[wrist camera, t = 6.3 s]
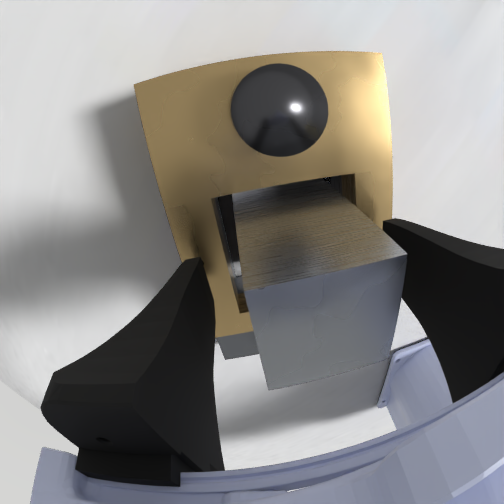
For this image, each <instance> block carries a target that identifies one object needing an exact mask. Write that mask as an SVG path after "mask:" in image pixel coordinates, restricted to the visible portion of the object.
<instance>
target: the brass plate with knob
mask: <svg viewBox="0 0 504 504" xmlns="http://www.w3.org/2000/svg"><path fill="white" fill-rule="evenodd" d="M134 89H135V94H136V98H137V103H138V108H139V112H140V116H141V121H142V125H143V129H144V133H145V138H146V142H147V146H148V150H149V153H150V157H151V161H152V165H153V169H154V172H155V176H156V180H157V183H158V187H159V190H160V194H161V197H162V201H163V204H164V208H165V211H166V214H167V218H168V221H169V224H170V227H171V231H172V234H173V237H174V240H175V243H176V246H177V249H178V252H179V255H180V258H181V261H182V263H183V262H184V260H186V259H191V258H196V257H201V259H202V262H203V265H204V269H205V272H206V275H207V279H208V282H209V285H210V288H211V292H212V295H213V298H214V305H215V318H216V328H215V338H217V340H218V342H219V345H220V348H221V350H222V353H223V356H224V358H225V360H227V359H233V358H239V357H245V356H250V355H256V354H259V350H258V347H257V343H256V339H255V335H254V330H253V326H252V322H251V318H250V314H249V310H248V306H247V302H246V298H245V294H244V288H243V280H242V276H240V277H236V274H235V270H234V266H233V262H232V258H231V254H230V250H229V245H228V241H227V237H226V233H225V228H224V224H223V220H222V215H221V211H220V207H219V202H218V198H217V197H219V196H224V195H229V194H234V193H239V192H244V191H249V190H254V189H260V188H265V187H271V186H276V185H282V184H288V183H293V182H299V181H306V180H312V179H318V178H325V177H330V180H331V186H332V187H333V188H334V189H336V190H337V191H338V192H339V193H340V194H342V195H343V196H344V197H345V198H346V199H348V200H349V201H350V202H351V203H352V204H353V205H355V206H356V207H357V208H358V209H359V210H360V211H362V212H363V213H364V214H365V215H366V216H367V217H368V218H370V219H371V220H372V221H373V222H374V223H375V224H376V225H377V226H378V227H380V228H381V229H383V221H384V220H389V219H392V195H393V170H392V140H391V124H390V112H389V102H388V93H387V84H386V77H385V70H384V63H383V57H382V53H373V52H352V51H317V52H296V53H282V54H272V55H263V56H255V57H247V58H241V59H234V60H228V61H223V62H217V63H212V64H207V65H203V66H198V67H194V68H190V69H185V70H181V71H177V72H174V73H170V74H166V75H163V76H159V77H156V78H153V79H149V80H146V81H143V82H140V83H137V84H134Z"/></svg>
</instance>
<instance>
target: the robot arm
mask: <svg viewBox="0 0 504 504" xmlns="http://www.w3.org/2000/svg"><path fill="white" fill-rule="evenodd" d="M382 230H383V231H384V232H385V233H386V234H387V235H388V236H389V237H390V238H391V239H392V240H394V241H395V242H396V243H397V244H398V245H399V246H400V247H401V248H402V249H403V250H404V251H405V252H406V253H407V254H408V255H407V264H406V271H405V278H404V285H403V291H402V299H403V300H404V301H405V303H406V304H407V305H408V307H409V308H410V310H411V311H412V312H413V314H414V315H415V316H416V318H417V319H418V321H419V322H420V324H421V325H422V327H423V329H424V331H425V333H426V335H427V337H428V338H429V339H427V340H425V341H422V342H420V343H417V344H414V345H412V346H409V347H407V348H404V349H401V350H398V351H396V352H395V353H394V354H393V356H392V359H391V363H390V366H389V369H388V373H387V376H386V379H385V383H384V386H383V389H382V392H381V395H380V398H379V401H378V403H377V407H378V408H382V407H385V406H387V408H388V410H389V413H390V415H391V417H392V420H393V422H394V424H395V427H396V429H397V430H396V431H393V432H391V433H388V434H385V435H383V436H380V437H377V438H375V439H372V440H369V441H366V442H363V443H360V444H357V445H354V446H351V447H347V448H344V449H341V450H337V451H334V452H330V453H326V454H322V455H318V456H314V457H310V458H306V459H301V460H296V461H291V462H286V463H281V464H275V465H269V466H262V467H255V468H247V469H238V470H227V471H225V469H224V463H223V457H222V452H221V445H220V438H219V431H218V424H217V415H216V405H215V394H214V381H213V367H214V347H215V328H216V318H215V305H214V298H213V295H212V292H211V288H210V285H209V282H208V279H207V275H206V272H205V269H204V265H203V262H202V259H201V257H196V258H191V259H186V260H184V262H183V263H182V264H181V265H180V266H179V268H178V269H177V270H176V271H175V273H174V274H173V275H172V277H171V278H170V279H169V280H168V282H167V283H166V284H165V285H164V287H163V288H162V289H161V290H160V291H159V293H158V294H157V295H156V296H155V297H154V298H153V299H152V301H151V302H150V303H149V304H148V305H147V306H146V307H145V308H144V309H143V310H142V311H141V312H140V313H139V314H138V315H137V316H136V317H135V318H134V319H133V320H132V321H131V322H130V323H129V324H127V325H126V326H125V327H124V328H123V329H121V330H120V331H119V332H118V333H116V334H115V335H114V336H113V337H111V338H110V339H109V340H108V341H106V342H105V343H103V344H102V345H101V346H99V347H98V348H96V349H95V350H93V351H92V352H90V353H88V354H87V355H85V356H84V357H82V358H80V359H79V360H77V361H75V362H73V363H71V364H69V365H67V366H65V367H63V368H62V369H60V370H58V371H56V372H54V373H53V375H52V378H51V380H50V383H49V386H48V388H47V391H46V393H45V396H44V399H43V402H42V405H41V411H42V414H43V416H44V417H45V419H46V420H47V422H48V423H49V424H50V425H51V426H53V427H54V428H55V429H56V430H57V431H58V432H59V433H61V434H62V435H63V436H64V437H66V438H67V439H68V440H69V441H71V442H72V443H74V444H75V445H76V446H77V447H79V452H78V457H77V456H76V455H73V454H71V453H68V452H64V451H59V450H55V449H51V448H46V447H43V448H42V450H41V454H40V458H39V462H38V466H37V470H36V475H35V480H34V485H33V490H32V496H31V501H30V504H504V249H500V248H495V247H489V246H485V245H481V244H477V243H473V242H469V241H465V240H462V239H459V238H456V237H453V236H450V235H447V234H444V233H441V232H438V231H435V230H432V229H430V228H427V227H424V226H421V225H418V224H415V223H412V222H409V221H406V220H402V219H396V218H394V219H389V220H384V221H383V229H382ZM304 487H306V488H304ZM299 488H302V489H299ZM294 489H298V490H295V491H291V492H287V491H289V490H294Z"/></svg>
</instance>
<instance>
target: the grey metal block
mask: <svg viewBox="0 0 504 504" xmlns="http://www.w3.org/2000/svg"><path fill="white" fill-rule="evenodd" d="M232 199H233V208H234V216H235V224H236V233H237V241H238V249H239V257H240V265H241V273H242V280H243V288H244V294H245V298H246V302H247V306H248V310H249V314H250V318H251V322H252V326H253V330H254V335H255V339H256V343H257V347H258V350H259V354H260V358H261V362H262V366H263V370H264V374H265V378H266V382H267V386H268V390H274V389H279V388H284V387H289V386H293V385H298V384H302V383H307V382H311V381H315V380H319V379H323V378H326V377H330V376H334V375H338V374H341V373H345V372H348V371H351V370H355V369H358V368H361V367H364V366H368V365H371V364H374V363H377V362H380V361H383V360H386V359H388V358H389V354H390V350H391V345H392V341H393V337H394V333H395V328H396V323H397V318H398V313H399V308H400V303H401V297H402V291H403V285H404V278H405V271H406V264H407V255H408V254H407V253H406V252H405V251H404V250H403V249H402V248H401V247H400V246H399V245H398V244H397V243H396V242H395V241H394V240H392V239H391V238H390V237H389V236H388V235H387V234H386V233H385V232H384V231H383V230H382V229H381V228H380V227H378V226H377V225H376V224H375V223H374V222H373V221H372V220H371V219H370V218H368V217H367V216H366V215H365V214H364V213H363V212H362V211H360V210H359V209H358V208H357V207H356V206H355V205H353V204H352V203H351V202H350V201H349V200H348V199H346V198H345V197H344V196H343V195H342V194H340V193H339V192H338V191H337V190H336V189H334V188H333V187H332V186H331V185H329V184H328V183H327V182H326V181H324V180H323V179H322V178H318V179H312V180H306V181H299V182H293V183H288V184H282V185H276V186H271V187H265V188H260V189H254V190H249V191H244V192H239V193H234V194H232Z"/></svg>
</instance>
